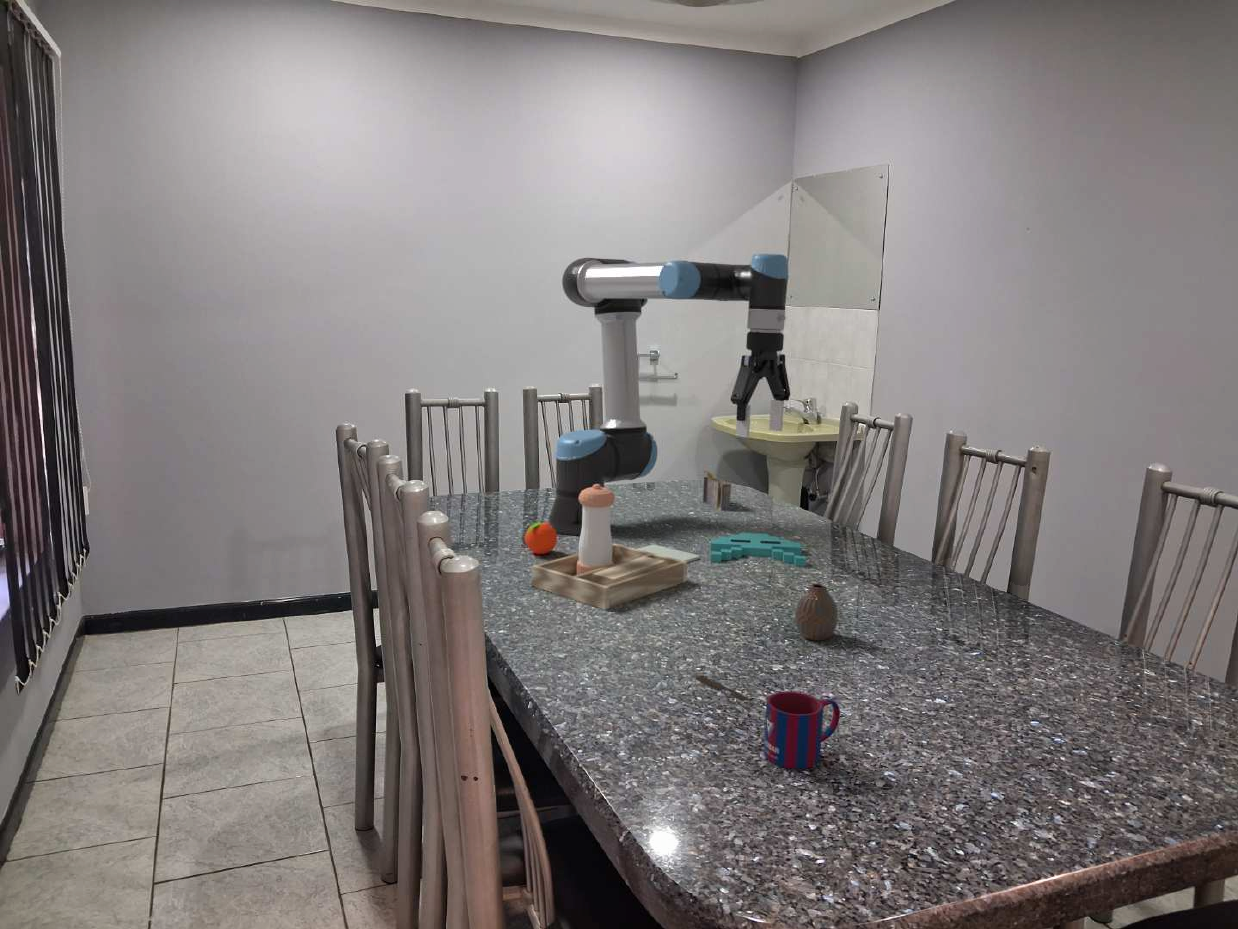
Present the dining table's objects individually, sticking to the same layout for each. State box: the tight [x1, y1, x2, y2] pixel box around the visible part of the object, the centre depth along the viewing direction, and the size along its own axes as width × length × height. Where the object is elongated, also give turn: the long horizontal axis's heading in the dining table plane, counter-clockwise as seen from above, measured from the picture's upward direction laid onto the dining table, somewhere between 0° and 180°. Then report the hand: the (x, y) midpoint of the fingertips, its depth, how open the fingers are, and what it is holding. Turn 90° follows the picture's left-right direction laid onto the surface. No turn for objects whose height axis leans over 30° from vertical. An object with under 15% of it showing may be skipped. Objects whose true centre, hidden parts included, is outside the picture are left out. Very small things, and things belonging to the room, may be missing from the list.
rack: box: [530, 543, 688, 611], centre depth 175 cm, size 19×24×4 cm
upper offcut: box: [592, 556, 665, 586], centre depth 171 cm, size 5×16×2 cm, turn 141°
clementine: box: [524, 521, 558, 555], centre depth 194 cm, size 8×7×7 cm
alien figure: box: [710, 532, 807, 568], centre depth 201 cm, size 20×2×20 cm
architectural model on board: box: [702, 469, 732, 512], centre depth 246 cm, size 11×3×10 cm, turn 20°
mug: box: [763, 691, 841, 770], centre depth 109 cm, size 7×10×7 cm
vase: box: [794, 583, 839, 641], centre depth 149 cm, size 7×7×9 cm
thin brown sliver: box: [695, 674, 751, 702], centre depth 128 cm, size 12×3×1 cm, turn 35°
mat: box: [637, 544, 701, 563], centre depth 194 cm, size 13×13×1 cm
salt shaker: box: [577, 484, 616, 575], centre depth 176 cm, size 7×7×19 cm
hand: (759, 433), depth 189 cm, fingers open, 13 cm apart
